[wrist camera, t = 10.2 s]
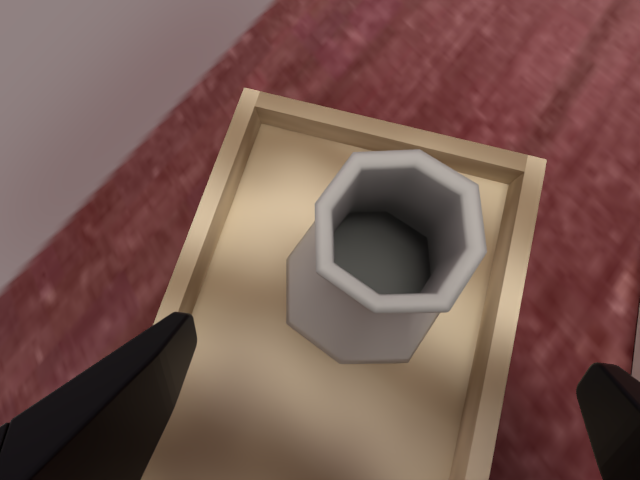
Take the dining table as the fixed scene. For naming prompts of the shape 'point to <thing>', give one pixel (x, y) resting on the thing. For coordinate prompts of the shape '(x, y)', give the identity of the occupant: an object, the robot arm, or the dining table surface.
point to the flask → (384, 256)
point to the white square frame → (637, 352)
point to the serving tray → (304, 357)
